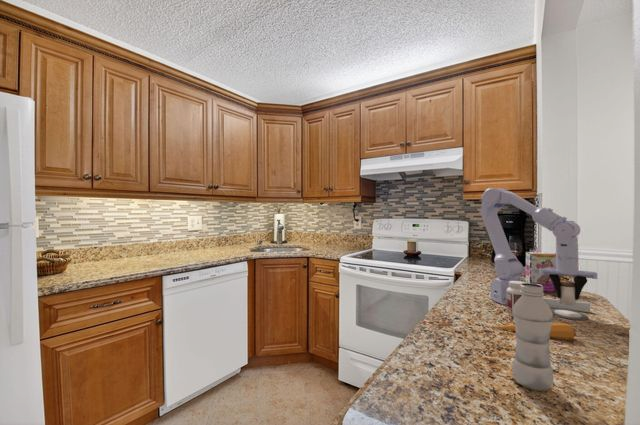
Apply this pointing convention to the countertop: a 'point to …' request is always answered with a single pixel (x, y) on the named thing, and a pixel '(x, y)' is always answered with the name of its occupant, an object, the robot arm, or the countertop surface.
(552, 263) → the candy bar box
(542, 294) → the plastic bottle
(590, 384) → the countertop surface
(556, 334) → the carrot
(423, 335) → the countertop surface
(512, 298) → the pill bottle
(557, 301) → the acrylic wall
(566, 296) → the spice jar
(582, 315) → the ring mat
